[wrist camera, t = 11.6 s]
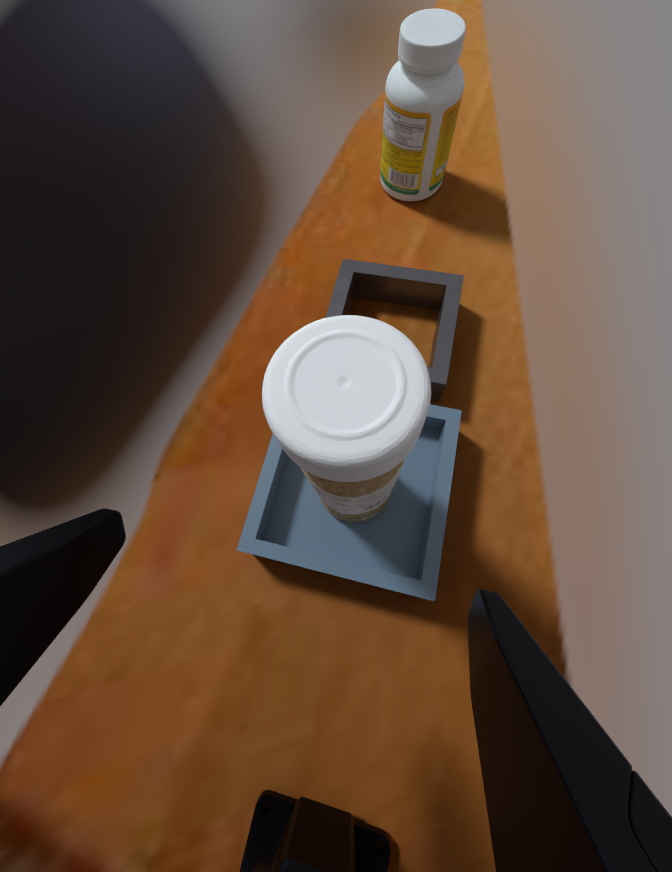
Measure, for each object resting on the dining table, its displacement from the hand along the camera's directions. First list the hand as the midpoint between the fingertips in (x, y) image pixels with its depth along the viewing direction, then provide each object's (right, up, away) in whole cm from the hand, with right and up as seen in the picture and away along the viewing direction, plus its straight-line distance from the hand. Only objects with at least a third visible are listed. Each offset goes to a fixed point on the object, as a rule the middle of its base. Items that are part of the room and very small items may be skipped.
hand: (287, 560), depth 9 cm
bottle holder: (+5, +10, +17) cm, 21 cm away
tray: (+2, 0, +14) cm, 14 cm away
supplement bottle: (+8, +25, +23) cm, 35 cm away
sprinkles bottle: (+2, 0, +13) cm, 14 cm away
